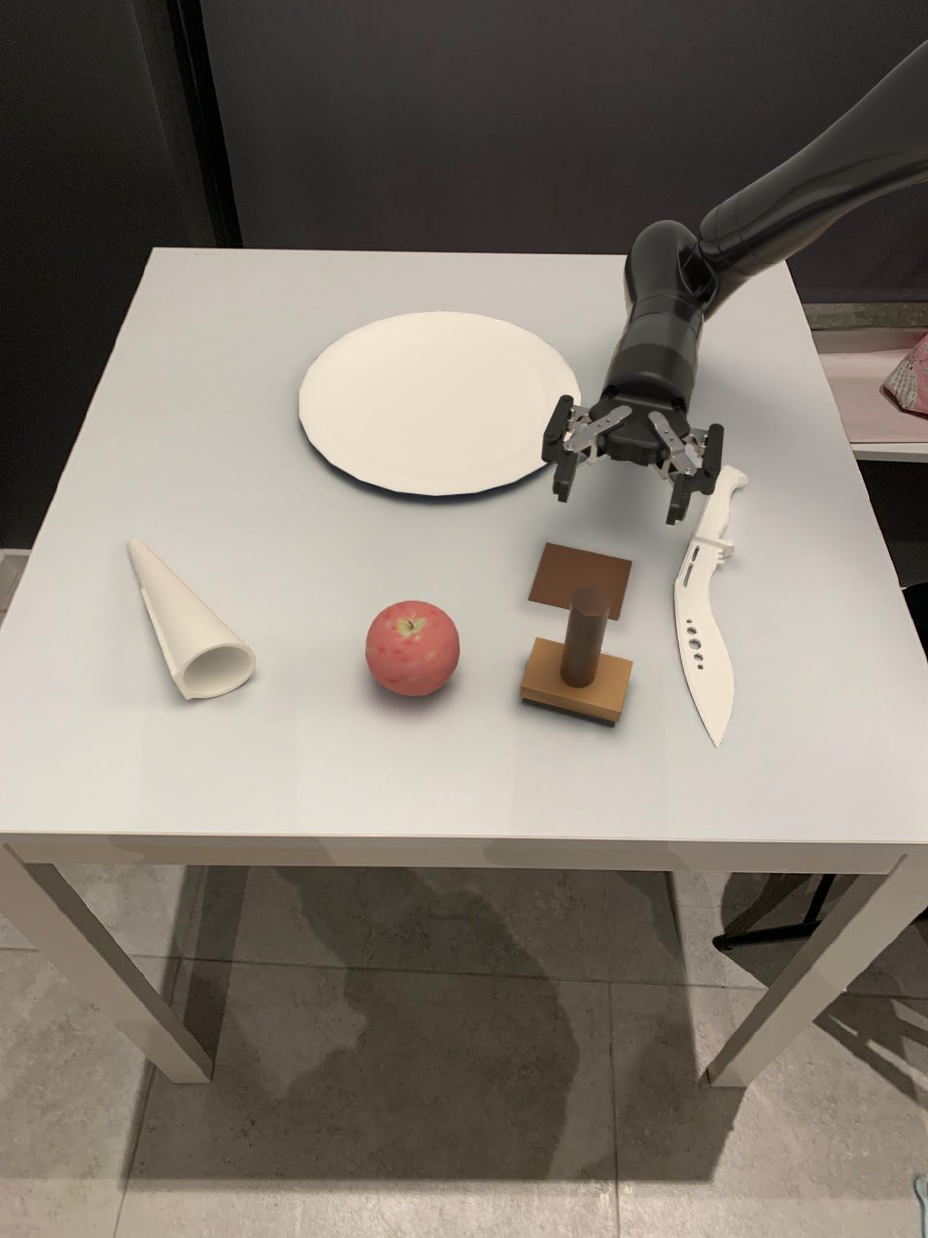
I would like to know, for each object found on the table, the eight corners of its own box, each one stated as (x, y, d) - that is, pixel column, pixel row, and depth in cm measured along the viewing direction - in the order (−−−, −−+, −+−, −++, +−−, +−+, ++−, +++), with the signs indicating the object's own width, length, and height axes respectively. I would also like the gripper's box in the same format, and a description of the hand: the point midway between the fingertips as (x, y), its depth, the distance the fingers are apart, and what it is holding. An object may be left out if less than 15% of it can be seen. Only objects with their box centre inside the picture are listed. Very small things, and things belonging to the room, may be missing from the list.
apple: (444, 724, 74) (444, 667, 68) (357, 702, 75) (348, 644, 69) (469, 651, 78) (471, 591, 72) (386, 631, 79) (380, 570, 73)
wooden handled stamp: (628, 680, 77) (653, 588, 67) (616, 730, 74) (640, 641, 64) (534, 656, 78) (545, 562, 68) (518, 704, 75) (527, 613, 65)
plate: (355, 303, 108) (354, 290, 107) (603, 347, 103) (605, 334, 102) (254, 472, 91) (251, 459, 90) (546, 533, 86) (547, 520, 85)
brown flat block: (632, 561, 84) (632, 560, 84) (618, 620, 80) (618, 619, 80) (546, 542, 86) (546, 542, 86) (528, 599, 82) (528, 599, 82)
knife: (722, 744, 72) (626, 709, 74) (717, 754, 73) (623, 719, 75) (801, 483, 88) (720, 459, 90) (796, 495, 89) (716, 471, 91)
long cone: (200, 536, 88) (265, 675, 76) (136, 563, 87) (191, 709, 75) (178, 491, 84) (243, 631, 72) (110, 519, 82) (164, 667, 70)
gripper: (575, 326, 80) (530, 451, 70) (743, 356, 77) (720, 490, 68) (566, 396, 85) (524, 520, 76) (722, 426, 83) (699, 558, 74)
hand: (617, 506), depth 72 cm, fingers open, 8 cm apart
